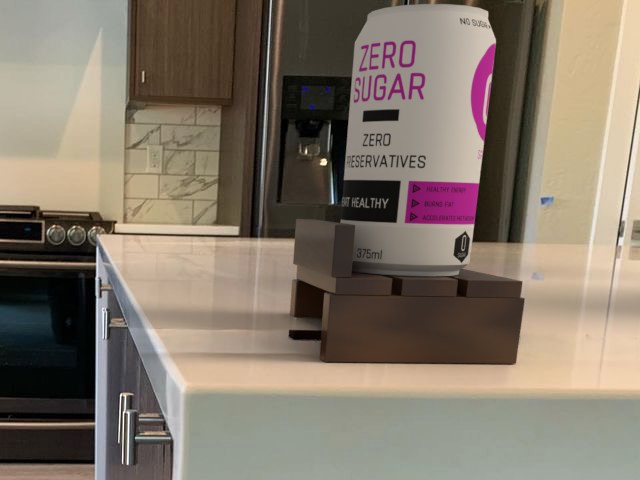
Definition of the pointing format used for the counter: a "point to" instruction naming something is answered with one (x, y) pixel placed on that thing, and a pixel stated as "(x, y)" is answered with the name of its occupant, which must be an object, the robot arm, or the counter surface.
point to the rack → (399, 307)
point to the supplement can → (417, 138)
